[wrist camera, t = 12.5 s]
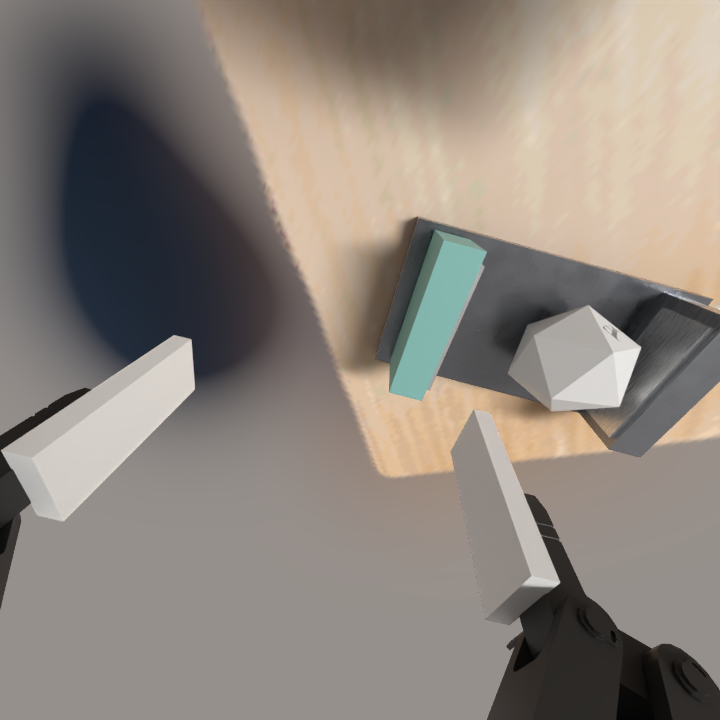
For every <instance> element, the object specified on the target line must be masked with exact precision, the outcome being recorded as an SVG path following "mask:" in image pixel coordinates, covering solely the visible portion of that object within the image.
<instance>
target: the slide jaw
mask: <svg viewBox="0 0 720 720" xmlns="http://www.w3.org/2000/svg"><path fill="white" fill-rule="evenodd" d="M486 253H487V251H485V250H484V249H482V248H481V247H480V246H478V245H477V244H475V243H474V242H473V241H471V240H470V239H467V238H463V237H460V236H456V235H452V234H449V233H445V232H441V231H438V230H434V233H433V236H432V239H431V242H430V245H429V248H428V250H427V253H426V256H425V259H424V262H423V265H422V268H421V271H420V274H419V277H418V280H417V283H416V286H415V289H414V292H413V295H412V298H411V301H410V303H409V306H408V309H407V312H406V315H405V318H404V321H403V324H402V327H401V330H400V333H399V336H398V339H397V342H396V345H395V348H394V351H393V354H392V356H391V359H390V379H389V392H390V393H393V394H397V395H401V396H405V397H409V398H413V399H417V400H420V401H422V399H423V397H424V395H425V392H426V390H430V389H431V386H432V384H433V382H434V380H435V377H436V375H437V373H438V371H439V368H440V366H441V364H442V362H443V359H444V357H445V355H446V353H447V350H448V348H449V346H450V344H451V341H452V339H453V337H454V335H455V332H456V330H457V328H458V326H459V324H460V321H461V319H462V317H463V315H464V312H465V310H466V308H467V306H468V303H469V301H470V299H471V297H472V294H473V292H474V290H475V288H476V285H477V283H478V281H479V279H480V276H481V274H482V272H483V270H484V266H483V265H482V262H483V260H484V258H485V256H486Z"/></svg>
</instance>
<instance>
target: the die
mask: <svg viewBox="0 0 720 720" xmlns="http://www.w3.org/2000/svg"><path fill="white" fill-rule="evenodd" d="M640 350H641V347H640V346H639V345H638V344H636V343H635V342H634V341H633V340H631V339H630V338H629V337H628V336H626V335H625V334H624V333H623V332H621V331H620V330H619V329H618V328H616V327H615V326H614V325H613V324H611V323H610V322H609V321H608V320H606V319H605V318H604V317H603V316H601V315H600V314H599V313H598V312H596V311H595V310H594V309H592V308H591V307H590V306H589V305H587V306H584V307H581V308H578V309H574V310H571V311H568V312H565V313H562V314H559V315H556V316H553V317H550V318H547V319H544V320H541V321H538V322H535V323H531V324H528V325H527V327H526V330H525V332H524V335H523V337H522V339H521V342H520V344H519V347H518V349H517V352H516V354H515V356H514V359H513V361H512V364H511V366H510V369H509V371H508V373H507V374H509V375H510V376H511V377H512V378H513V379H514V380H516V381H517V382H518V383H519V384H520V385H521V386H523V387H524V388H525V389H526V390H527V391H528V392H530V393H531V394H532V395H533V396H534V397H535V398H537V399H538V400H539V401H540V402H541V403H542V404H543V405H545V406H546V407H547V408H548V409H549V410H550V411H566V410H582V409H597V408H612V407H620V404H621V402H622V399H623V396H624V393H625V391H626V388H627V385H628V382H629V380H630V377H631V374H632V372H633V369H634V366H635V363H636V361H637V358H638V355H639V352H640Z"/></svg>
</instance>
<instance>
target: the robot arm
mask: <svg viewBox="0 0 720 720" xmlns="http://www.w3.org/2000/svg"><path fill="white" fill-rule="evenodd" d="M194 390H195V383H194V369H193V356H192V342H191V339H187V338H183V337H179V336H175V335H173V336H172V337H171V338H169V339H167V340H166V341H164V342H163V343H162V344H160V345H158V346H157V347H155V348H154V349H152V350H151V351H149V352H148V353H146V354H145V355H143V356H142V357H140V358H139V359H138V360H136V361H134V362H133V363H132V364H130V365H128V366H127V367H125V368H124V369H123V370H121V371H119V372H118V373H116V374H115V375H113V376H112V377H111V378H109V379H107V380H106V381H105V382H103V383H101V384H100V385H98V386H97V387H95V388H94V389H87V388H83V389H80V390H77V391H75V392H72V393H70V394H67V395H64V396H63V397H61V398H60V399H58V400H56V401H55V402H53V403H52V404H50V405H49V406H48V408H44V409H42V410H41V411H39V412H37V413H36V414H35V416H31V417H29V418H28V419H26V420H25V421H23V422H21V423H20V424H18V425H17V426H15V427H14V428H12V429H10V430H9V431H7V432H5V433H4V434H2V435H1V436H0V608H1V604H2V600H3V595H4V591H5V587H6V583H7V579H8V574H9V570H10V566H11V562H12V558H13V554H14V549H15V545H16V541H17V536H18V532H19V528H20V524H21V516H20V514H19V513H20V512H21V511H22V510H23V509H25V508H26V507H27V506H28V505H29V504H30V503H31V505H32V507H33V509H34V511H35V512H36V514H37V515H38V516H42V517H46V518H50V519H55V520H59V521H64V520H65V519H66V518H67V517H68V516H69V515H70V514H71V513H72V512H73V511H74V510H75V509H76V508H77V507H78V506H79V505H80V504H81V503H82V502H83V501H84V500H85V499H86V498H87V497H88V496H89V495H90V494H91V493H92V492H93V491H94V490H95V489H96V488H97V487H98V486H99V485H100V484H101V483H102V482H103V481H104V480H105V479H106V478H107V477H108V476H109V475H110V474H111V473H112V472H113V471H114V470H115V469H116V468H117V467H118V466H119V465H120V464H121V463H122V462H123V461H124V460H125V459H126V458H127V457H128V456H129V455H130V454H131V453H132V452H133V451H134V450H135V449H136V448H137V447H138V446H139V445H140V444H141V443H142V442H143V441H144V440H145V439H146V438H147V437H148V436H149V435H150V434H151V433H152V432H153V431H154V430H155V429H156V428H157V427H158V426H159V425H160V424H161V423H162V422H163V421H164V420H165V419H166V418H167V417H168V416H169V415H170V414H171V413H172V412H173V411H174V410H175V409H176V408H177V407H178V406H179V405H180V404H181V403H182V402H183V401H184V400H185V399H186V398H187V397H188V396H189V395H190V394H191V393H192V392H193V391H194ZM451 455H452V460H453V465H454V470H455V475H456V480H457V485H458V489H459V495H460V500H461V505H462V509H463V514H464V519H465V524H466V529H467V534H468V539H469V544H470V548H471V553H472V558H473V563H474V568H475V573H476V578H477V583H478V587H479V593H480V598H481V602H482V607H483V612H484V617H485V620H489V621H494V622H498V623H502V624H507V625H510V624H512V623H513V622H514V621H515V620H516V619H517V618H519V617H520V620H521V623H522V627H523V632H522V633H520V634H519V635H518V636H517V637H515V638H514V639H513V640H511V641H510V642H509V644H508V645H507V648H508V649H509V650H511V649H512V648H513V647H515V648H514V650H513V653H512V655H511V658H510V661H509V664H508V666H507V669H506V671H505V674H504V676H503V679H502V682H501V684H500V687H499V689H498V692H497V694H496V697H495V700H494V702H493V705H492V707H491V711H490V713H489V716H488V719H487V720H720V690H719V688H718V687H717V686H716V684H715V683H714V681H713V680H712V679H711V677H710V676H709V674H708V673H707V672H706V671H705V670H704V669H703V668H702V667H701V666H700V665H699V664H698V663H697V662H696V661H695V660H694V659H693V658H692V657H691V656H689V655H688V654H687V653H685V652H684V651H683V650H681V649H680V648H678V647H675V646H673V645H671V644H660V645H658V646H656V647H654V648H653V649H652V648H650V647H648V646H646V645H645V644H643V643H641V642H639V641H638V640H636V639H634V638H632V637H631V636H629V635H627V634H626V633H624V632H622V631H620V630H619V629H617V627H616V625H615V623H614V622H613V621H612V619H611V618H610V616H609V615H608V614H607V613H606V612H605V611H604V610H603V609H602V608H601V607H600V606H599V605H598V604H597V603H596V602H594V601H593V600H592V599H590V598H589V597H587V596H586V594H585V593H584V591H583V589H582V586H581V584H580V582H579V580H578V578H577V576H576V573H575V571H574V569H573V567H572V565H571V563H570V560H569V558H568V556H567V554H566V552H565V550H564V547H563V545H562V543H561V542H560V541H559V537H558V535H557V532H556V530H555V529H554V528H553V524H552V521H551V519H550V517H549V515H548V513H547V511H546V509H545V508H544V507H543V506H542V504H541V503H540V502H539V501H538V499H537V498H536V497H535V496H533V495H529V494H525V493H523V491H522V489H521V486H520V484H519V481H518V479H517V477H516V474H515V472H514V469H513V467H512V464H511V462H510V459H509V457H508V455H507V452H506V450H505V447H504V445H503V443H502V440H501V438H500V435H499V433H498V430H497V428H496V426H495V423H494V421H493V418H492V416H491V414H490V413H487V412H483V411H479V410H475V409H474V410H473V412H472V413H471V415H470V417H469V419H468V421H467V423H466V424H465V426H464V428H463V430H462V432H461V434H460V435H459V437H458V439H457V441H456V443H455V445H454V447H453V448H452V450H451Z"/></svg>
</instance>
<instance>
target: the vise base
mask: <svg viewBox="0 0 720 720" xmlns="http://www.w3.org/2000/svg"><path fill="white" fill-rule="evenodd" d="M434 230H438V231H441V232H445V233H449V234H452V235H456V236H460V237H463V238H467V239H470V240H471V241H473V242H474V243H475V244H477V245H478V246H480V247H481V248H482V249H484V250H485V251H487V253H486V256H485V258H484V260H483V262H482V265H483V266H484V270H483V272H482V274H481V276H480V279H479V281H478V283H477V285H476V288H475V290H474V292H473V294H472V297H471V299H470V301H469V303H468V306H467V308H466V310H465V312H464V315H463V317H462V319H461V321H460V324H459V326H458V328H457V330H456V332H455V335H454V337H453V339H452V341H451V344H450V346H449V348H448V350H447V353H446V355H445V357H444V359H443V362H442V364H441V366H440V368H439V371H438V373H437V376H441V377H445V378H449V379H452V380H456V381H460V382H464V383H468V384H471V385H475V386H479V387H483V388H487V389H491V390H494V391H498V392H502V393H506V394H510V395H513V396H517V397H521V398H525V399H529V400H533V401H536V402H540V401H539V400H538V399H537V398H535V397H534V396H533V395H532V394H531V393H530V392H528V391H527V390H526V389H525V388H524V387H523V386H521V385H520V384H519V383H518V382H517V381H516V380H514V379H513V378H512V377H511V376H510V375H509V374H507V373H508V371H509V369H510V366H511V364H512V361H513V359H514V356H515V354H516V352H517V349H518V347H519V344H520V342H521V339H522V337H523V335H524V332H525V330H526V327H527V325H528V324H531V323H535V322H538V321H541V320H544V319H547V318H550V317H553V316H556V315H559V314H562V313H565V312H568V311H571V310H574V309H578V308H581V307H584V306H587V305H589V306H590V307H591V308H592V309H594V310H595V311H596V312H598V313H599V314H600V315H601V316H603V317H604V318H605V319H606V320H608V321H609V322H610V323H611V324H613V325H614V326H615V327H616V328H618V329H619V330H620V331H621V332H623V333H624V334H625V335H626V336H628V337H629V338H630V339H631V340H633V341H634V342H635V343H636V344H638V345H639V346H640V347H641V350H640V352H639V355H638V358H637V361H636V363H635V366H634V369H633V372H632V374H631V377H630V380H629V382H628V385H627V388H626V391H625V393H624V396H623V399H622V402H621V404H620V407H612V408H597V409H582V410H571V411H575V412H578V413H580V414H581V416H582V417H583V418H584V419H585V421H586V422H587V423H588V424H589V426H590V427H591V428H592V429H593V430H594V432H595V433H596V434H597V435H598V437H599V438H600V439H601V440H602V442H603V443H604V444H605V445H606V447H607V448H608V449H609V450H613V451H617V452H621V453H625V454H629V455H633V456H636V457H641V456H642V455H643V454H644V453H645V452H646V451H647V450H648V449H650V448H651V447H652V446H653V445H654V444H655V443H656V442H657V441H658V440H659V439H660V438H661V437H662V436H663V435H664V434H665V433H666V432H667V431H668V430H669V429H670V428H671V427H673V426H674V425H675V424H676V423H677V422H678V421H679V420H680V419H681V418H682V417H683V416H684V415H685V414H686V413H687V412H688V411H689V410H690V409H691V408H692V407H693V406H694V405H696V404H697V403H698V402H699V401H700V400H701V399H702V398H703V397H704V396H705V395H706V394H707V393H708V392H709V391H710V390H711V389H712V388H713V387H714V386H715V385H716V384H717V383H719V382H720V310H718V309H715V308H712V307H710V306H708V305H709V304H710V302H711V301H712V300H713V299H711V298H708V297H705V296H702V295H699V294H696V293H692V292H689V291H685V290H682V289H678V288H674V287H671V286H667V285H664V284H660V283H656V282H653V281H649V280H646V279H642V278H638V277H635V276H631V275H627V274H624V273H620V272H617V271H613V270H609V269H606V268H602V267H599V266H595V265H591V264H588V263H584V262H580V261H577V260H573V259H570V258H566V257H562V256H559V255H555V254H552V253H548V252H544V251H541V250H537V249H534V248H530V247H526V246H523V245H519V244H515V243H512V242H508V241H505V240H501V239H497V238H494V237H490V236H487V235H483V234H479V233H476V232H472V231H468V230H465V229H461V228H458V227H454V226H450V225H447V224H443V223H440V222H436V221H432V220H429V219H425V218H421V217H417V221H416V224H415V227H414V231H413V234H412V237H411V240H410V244H409V247H408V250H407V253H406V257H405V260H404V263H403V266H402V270H401V273H400V276H399V279H398V283H397V286H396V289H395V292H394V296H393V299H392V302H391V306H390V309H389V312H388V315H387V319H386V322H385V325H384V328H383V332H382V335H381V338H380V341H379V345H378V348H377V351H376V357H375V359H376V360H380V361H384V362H387V363H390V359H391V356H392V354H393V351H394V348H395V345H396V342H397V339H398V336H399V333H400V330H401V327H402V324H403V321H404V318H405V315H406V312H407V309H408V306H409V303H410V301H411V298H412V295H413V292H414V289H415V286H416V283H417V280H418V277H419V274H420V271H421V268H422V265H423V262H424V259H425V256H426V253H427V250H428V248H429V245H430V242H431V239H432V236H433V233H434ZM540 403H541V402H540Z"/></svg>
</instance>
